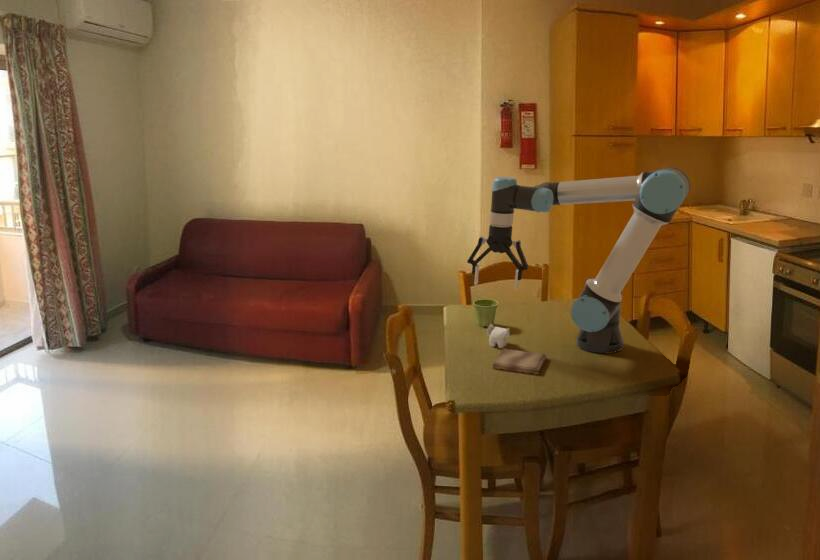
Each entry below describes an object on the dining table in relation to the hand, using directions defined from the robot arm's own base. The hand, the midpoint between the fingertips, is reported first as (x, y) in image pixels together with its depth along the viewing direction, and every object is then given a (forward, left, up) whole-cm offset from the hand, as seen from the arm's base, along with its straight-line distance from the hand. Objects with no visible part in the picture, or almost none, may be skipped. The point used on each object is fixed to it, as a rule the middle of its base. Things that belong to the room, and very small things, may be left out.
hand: (495, 286), depth 213 cm
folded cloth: (-12, +16, -20) cm, 28 cm away
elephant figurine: (-2, +2, -20) cm, 20 cm away
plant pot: (+8, -17, -20) cm, 27 cm away
